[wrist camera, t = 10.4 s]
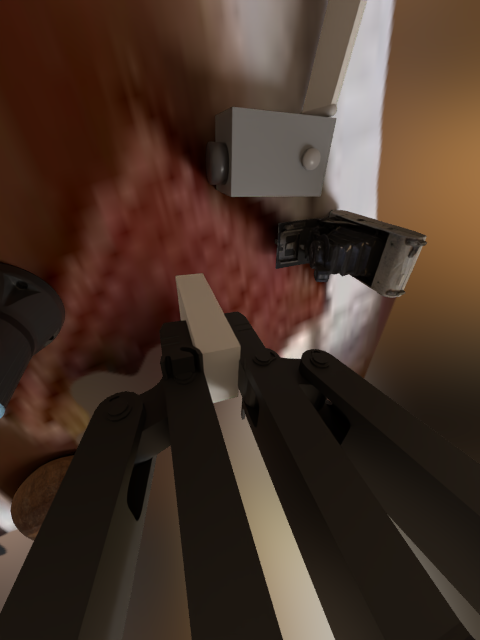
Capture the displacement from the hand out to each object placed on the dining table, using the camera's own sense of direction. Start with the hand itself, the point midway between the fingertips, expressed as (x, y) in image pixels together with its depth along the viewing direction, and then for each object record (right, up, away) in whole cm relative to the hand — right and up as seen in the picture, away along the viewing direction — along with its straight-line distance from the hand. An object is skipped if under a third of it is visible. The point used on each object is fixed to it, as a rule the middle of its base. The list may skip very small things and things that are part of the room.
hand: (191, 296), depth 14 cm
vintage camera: (+16, +15, +34) cm, 41 cm away
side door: (+14, +35, +19) cm, 42 cm away
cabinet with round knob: (+6, +24, +24) cm, 34 cm away
